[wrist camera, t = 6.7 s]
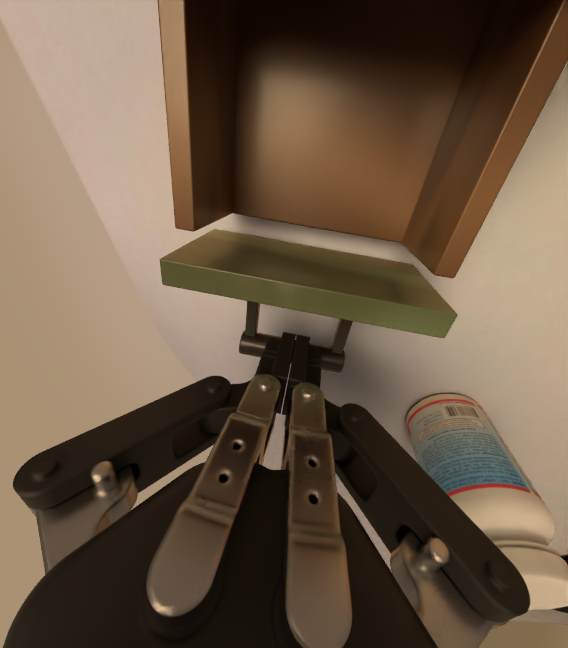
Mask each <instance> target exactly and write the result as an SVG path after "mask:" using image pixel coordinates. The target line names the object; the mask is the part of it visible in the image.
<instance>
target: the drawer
mask: <svg viewBox="0 0 568 648" xmlns="http://www.w3.org/2000/svg"><path fill="white" fill-rule="evenodd" d="M158 11H159V23H160V36H161V49H162V62H163V75H164V87H165V100H166V113H167V126H168V138H169V151H170V164H171V177H172V190H173V202H174V215H175V227H176V228H177V229H182V230H188V231H196V230H198V229H200V228H202V227H204V226H207V225H209V224H211V223H213V222H215V221H217V220H219V219H221V218H223V217H225V216H227V215H229V214H232V213H235V214H240V215H246V216H252V217H258V218H263V219H269V220H275V221H280V222H286V223H292V224H297V225H303V226H309V227H314V228H320V229H326V230H331V231H337V232H343V233H348V234H354V235H360V236H365V237H371V238H377V239H382V240H388V241H394V242H399V243H402V244H403V245H404V246H405V247H406V248H407V249H408V250H409V251H410V252H411V253H412V254H413V255H414V256H415V257H416V258H417V259H418V260H419V261H421V262H422V263H423V264H424V265H425V266H426V267H427V268H428V269H429V270H430V271H431V272H432V273H433V274H434V275H437V276H443V277H448V278H454V277H455V276H456V274H457V272H458V270H459V268H460V266H461V264H462V262H463V260H464V258H465V257H466V255H467V253H468V251H469V249H470V247H471V245H472V243H473V241H474V239H475V237H476V235H477V233H478V232H479V230H480V228H481V226H482V224H483V222H484V220H485V218H486V216H487V214H488V212H489V210H490V208H491V207H492V205H493V203H494V201H495V199H496V197H497V195H498V193H499V191H500V189H501V187H502V185H503V183H504V182H505V180H506V178H507V176H508V174H509V172H510V170H511V168H512V166H513V164H514V162H515V160H516V158H517V156H518V155H519V153H520V151H521V149H522V147H523V145H524V143H525V141H526V139H527V137H528V135H529V133H530V131H531V130H532V128H533V126H534V124H535V122H536V120H537V118H538V116H539V114H540V112H541V110H542V108H543V106H544V105H545V103H546V101H547V99H548V97H549V95H550V93H551V91H552V89H553V87H554V85H555V83H556V81H557V80H558V78H559V76H560V74H561V72H562V70H563V68H564V66H565V64H566V62H567V60H568V0H158ZM160 266H161V275H162V283H163V285H167V286H173V287H178V288H183V289H188V290H193V291H199V292H204V293H209V294H214V295H220V296H225V297H230V298H235V299H241V300H246V301H248V302H247V315H246V329H245V331H244V332H243V334H242V336H241V340H240V345H239V352H240V353H241V354H246V355H251V356H256V357H262V354H263V351H264V348H265V346H266V343H267V342H269V341H270V340H271V339H276V340H281V337H277V336H272V335H267V334H262V333H257V329H258V319H259V309H260V303H262V304H267V305H272V306H277V307H282V308H288V309H293V310H298V311H303V312H309V313H314V314H319V315H324V316H330V317H335V318H340V319H339V322H338V326H337V329H336V333H335V336H334V339H333V343H332V347H328V346H323V345H318V344H313V343H309V346H310V347H316V348H318V349H319V351H320V353H321V370H326V371H331V372H336V373H341V371H342V369H343V365H344V360H345V351H344V350H343V349H344V346H345V343H346V340H347V337H348V334H349V331H350V328H351V325H352V322H353V321H356V322H361V323H366V324H371V325H377V326H382V327H387V328H392V329H398V330H403V331H408V332H413V333H419V334H424V335H429V336H434V337H439V338H445V336H446V334H447V333H448V331H449V329H450V328H451V326H452V324H453V322H454V321H455V319H456V317H457V313H456V312H455V311H454V310H453V309H452V308H451V307H450V305H449V304H448V303H447V302H446V301H445V300H444V299H443V298H442V297H441V296H440V294H439V293H438V292H437V291H436V290H435V289H434V288H433V287H432V286H431V284H430V283H429V282H428V281H427V280H426V279H425V278H424V277H423V276H422V274H421V273H420V272H419V271H418V270H417V269H416V268H415V267H414V266H413V265H411V264H406V263H400V262H394V261H389V260H383V259H378V258H372V257H367V256H361V255H355V254H350V253H344V252H339V251H333V250H328V249H322V248H316V247H311V246H305V245H300V244H294V243H289V242H283V241H277V240H272V239H266V238H261V237H255V236H250V235H244V234H239V233H233V232H227V231H222V230H216V229H214V230H212V231H210V232H208V233H206V234H205V235H203V236H201V237H199V238H197V239H196V240H194V241H192V242H190V243H188V244H186V245H185V246H183V247H181V248H179V249H177V250H175V251H174V252H172V253H170V254H168V255H166V256H164V257H163V258H161V259H160ZM295 343H296V340H295V342H294V347H293V352H292V357H291V362H290V363H292V358H293V353H294V348H295Z"/></svg>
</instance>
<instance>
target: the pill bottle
mask: <svg viewBox="0 0 568 648" xmlns="http://www.w3.org/2000/svg"><path fill="white" fill-rule="evenodd" d="M406 427H407V430H408V433H409V436H410V439H411V442H412V446H413V449H414V452H415V455H416V458H417V461H418V464H419V465H420V466H421V468H422V469H423V470H424V471H425V472H426V473H427V474H428V475H429V476H430V477H431V478H432V479H433V480H434V481H435V482H436V483H437V484H438V485H439V486H440V487H441V489H442V490H443V491H444V492H445V493H446V494H447V495H448V496H449V497H450V498H451V499H452V500H453V501H454V502H455V503H456V504H457V505H458V506H459V507H460V508H461V509H462V511H463V512H464V513H465V514H466V515H467V516H468V517H469V518H470V519H471V520H472V521H473V522H474V523H475V524H476V525H477V526H478V527H479V528H480V529H481V530H482V531H483V533H484V534H485V535H486V536H487V537H488V538H489V539H490V540H491V541H492V542H493V543H494V544H495V545H496V546H497V547H498V548H499V549H500V550H501V551H502V552H503V554H504V555H505V556H506V557H507V558H508V559H509V560H510V561H511V562H512V563H513V564H514V565H515V567H516V568H517V569H518V571H519V572H520V574H521V575H522V577H523V579H524V581H525V583H526V585H527V588H528V591H529V594H530V607H529V609H528V610H545V609H555V608H560V607H565V606H568V565H567V563H566V562H565V560H563V559H562V558H561V557H560V555H559V554H558V552H557V551H555V550H554V549H552V548H551V547H549V546H548V544H549V542H550V541H551V540H552V538H553V535H554V522H553V518H552V516H551V513H550V512H549V510H548V508H547V507H546V505H545V504H544V502H543V500H542V499H541V497H540V496H539V494H538V493H537V491H536V490H535V488H534V487H533V485H532V484H531V482H530V481H529V479H528V478H527V476H526V475H525V473H524V472H523V470H522V468H521V467H520V465H519V464H518V462H517V461H516V459H515V458H514V456H513V455H512V453H511V452H510V450H509V449H508V447H507V446H506V444H505V443H504V441H503V440H502V438H501V437H500V435H499V434H498V432H497V430H496V429H495V427H494V426H493V424H492V423H491V421H490V420H489V418H488V417H487V415H486V414H485V412H484V411H483V409H482V408H481V407H480V406H479V405H478V404H477V403H476V402H475V401H473V400H472V399H470V398H468V397H465V396H462V395H457V394H438V395H434V396H430V397H428V398H425V399H423V400H422V401H420V402H419V403H417V404H416V405H415V406H414V407H413V408H412V409H411V410H410V412H409V413H408V415H407V418H406Z"/></svg>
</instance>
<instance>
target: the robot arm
mask: <svg viewBox="0 0 568 648" xmlns="http://www.w3.org/2000/svg"><path fill="white" fill-rule="evenodd" d="M295 337H296V334H292V333H287V332H283V334H282V337H281V340H276V339H271V340H270V341H269V342H267V343H266V346H265V348H264V351H263V354H262V357H261V360H260V362H259V365H258V368H257V371H256V374H255V376H254V377H253V378H252V379H251V380H250V381H248V382H246V383H242V384H230V382H229V381H228V380H227V379H226V378H224V377H221V376H210V377H207V378H205V379H202V380H200V381H198V382H196V383H194V384H191V385H189V386H187V387H185V388H182V389H180V390H178V391H176V392H174V393H171V394H169V395H167V396H165V397H163V398H160V399H158V400H156V401H154V402H151V403H149V404H147V405H145V406H143V407H141V408H138V409H136V410H134V411H132V412H129V413H127V414H125V415H123V416H121V417H119V418H116V419H114V420H112V421H110V422H107V423H105V424H103V425H101V426H98V427H96V428H94V429H92V430H90V431H87V432H85V433H83V434H81V435H79V436H77V437H74V438H72V439H70V440H68V441H65V442H63V443H61V444H59V445H57V446H54V447H52V448H50V449H48V450H45V451H43V452H41V453H39V454H37V455H36V456H34V457H32V458H31V459H30V460H28V461H27V462H26V463H25V464H24V465H23V466H22V467H21V468H20V469H19V471H18V472H17V474H16V476H15V478H14V481H13V487H14V489H15V491H16V492H17V494H18V495H19V496H20V497H21V499H22V500H23V501H24V502H25V504H26V505H27V506H28V507H29V509H30V510H31V511H32V512H33V514H34V515H35V516H36V517H37V524H38V530H39V536H40V542H41V549H42V555H43V561H44V567H45V574H46V575H45V576H44V577H43V578H42V579H41V580H40V582H39V583H38V584H37V585H36V586H35V587H34V589H33V590H32V591H31V593H30V594H29V595H28V597H27V598H26V600H25V601H24V603H23V605H22V606H21V608H20V609H19V611H18V613H17V615H16V617H15V619H14V620H13V622H12V625H11V627H10V629H9V632H8V634H7V637H6V640H5V643H4V646H3V648H479V646H480V645H481V643H482V642H483V640H484V639H485V637H486V636H487V634H488V633H489V631H490V630H492V629H495V628H497V627H499V626H502V625H504V624H506V623H507V622H509V620H510V619H512V618H515V617H517V616H519V615H522V614H524V613H526V612H527V611H528V609H529V607H530V594H529V591H528V588H527V585H526V583H525V581H524V579H523V577H522V575H521V574H520V572H519V571H518V569H517V568H516V567H515V565H514V564H513V563H512V562H511V561H510V560H509V559H508V558H507V557H506V556H505V555H504V554H503V552H502V551H501V550H500V549H499V548H498V547H497V546H496V545H495V544H494V543H493V542H492V541H491V540H490V539H489V538H488V537H487V536H486V535H485V534H484V533H483V531H482V530H481V529H480V528H479V527H478V526H477V525H476V524H475V523H474V522H473V521H472V520H471V519H470V518H469V517H468V516H467V515H466V514H465V513H464V512H463V511H462V509H461V508H460V507H459V506H458V505H457V504H456V503H455V502H454V501H453V500H452V499H451V498H450V497H449V496H448V495H447V494H446V493H445V492H444V491H443V490H442V489H441V487H440V486H439V485H438V484H437V483H436V482H435V481H434V480H433V479H432V478H431V477H430V476H429V475H428V474H427V473H426V472H425V471H424V470H423V469H422V468H421V466H420V465H419V464H418V463H417V462H416V461H415V460H414V459H413V458H412V457H411V456H410V455H409V454H408V453H407V452H406V451H405V450H404V449H403V448H402V447H401V446H400V444H399V443H398V442H397V441H396V440H395V439H394V438H393V437H392V436H391V435H390V434H389V433H388V432H387V431H386V430H385V429H384V428H383V427H382V426H381V425H380V423H379V422H378V421H377V420H376V419H375V418H374V417H373V416H372V415H371V414H370V413H369V412H368V411H367V410H366V409H365V408H363V407H362V406H360V405H357V404H352V403H349V404H345V405H343V406H342V407H341V408H340V407H338V406H336V405H334V404H332V403H330V402H329V401H327V400H326V399H325V398H324V394H323V392H322V390H321V389H320V382H321V353H320V351H319V349H318V348H316V347H310V346H309V342H310V337H307V336H302V335H297V338H296V343H295V348H294V353H293V358H292V363H291V368H290V362H291V357H292V352H293V347H294V342H295ZM289 368H290V374H289V379H288V384H287V390H286V395H285V400H284V405H283V411H282V414H283V415H286V417H285V430H284V441H283V454H282V466H281V470H270V469H268V468H266V467H264V466H262V464H263V460H264V457H265V454H266V450H267V447H268V444H269V441H270V437H271V434H272V431H273V427H274V422H275V417H276V413H279V414H280V413H281V408H282V403H283V398H284V393H285V388H286V383H287V378H288V373H289ZM213 444H214V446H213V448H212V450H211V452H210V454H209V456H208V458H207V460H206V462H204V463H201V464H199V465H196V466H194V467H192V468H191V469H189V470H187V471H186V472H184V473H183V474H181V475H180V476H179V477H177V478H176V479H174V480H173V481H172V482H170V483H169V484H167V485H166V486H165V487H163V488H162V489H160V490H159V491H158V492H156V493H155V494H153V495H152V496H150V497H149V498H148V499H146V500H145V501H143V502H142V503H141V504H139V505H138V506H136V507H135V508H134V509H133V510H131V509H132V507H133V506H134V504H135V502H136V500H137V496H138V493H139V492H141V491H142V490H144V489H145V488H147V487H148V486H150V485H151V484H153V483H155V482H156V481H158V480H159V479H161V478H162V477H164V476H166V475H167V474H169V473H170V472H172V471H173V470H175V469H176V468H178V467H179V466H181V465H183V464H184V463H186V462H187V461H189V460H190V459H192V458H193V457H195V456H196V455H198V454H199V453H201V452H203V451H204V450H206V449H207V448H209V447H210V446H212V445H213ZM335 473H336V474H337V475H338V477H339V478H340V480H341V481H342V483H343V484H344V486H345V487H346V489H347V490H348V492H349V493H350V494H351V496H352V497H353V499H354V500H355V502H356V503H357V505H358V506H359V508H360V509H361V511H362V512H363V513H364V515H365V516H366V518H367V519H368V521H369V522H370V524H371V525H372V527H373V528H374V529H375V531H376V532H377V534H378V535H379V537H380V538H381V540H382V541H383V543H384V544H385V546H386V547H387V548H388V550H389V551H390V553H391V558H390V565H391V571H392V573H391V571H390V569H389V568H388V566H387V565H386V563H385V561H384V560H383V558H382V557H381V555H380V553H379V552H378V550H377V549H376V547H375V545H374V544H373V542H372V541H371V539H370V537H369V536H368V534H367V533H366V531H365V529H364V528H363V526H362V525H361V523H360V521H359V520H358V518H357V517H356V515H355V513H354V512H353V510H352V509H351V507H350V506H349V505H348V503H347V502H346V501H345V500H344V499H343V498H342V497H341V495H340V494H338V493H337V488H336V478H335ZM130 510H131V511H130Z"/></svg>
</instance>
